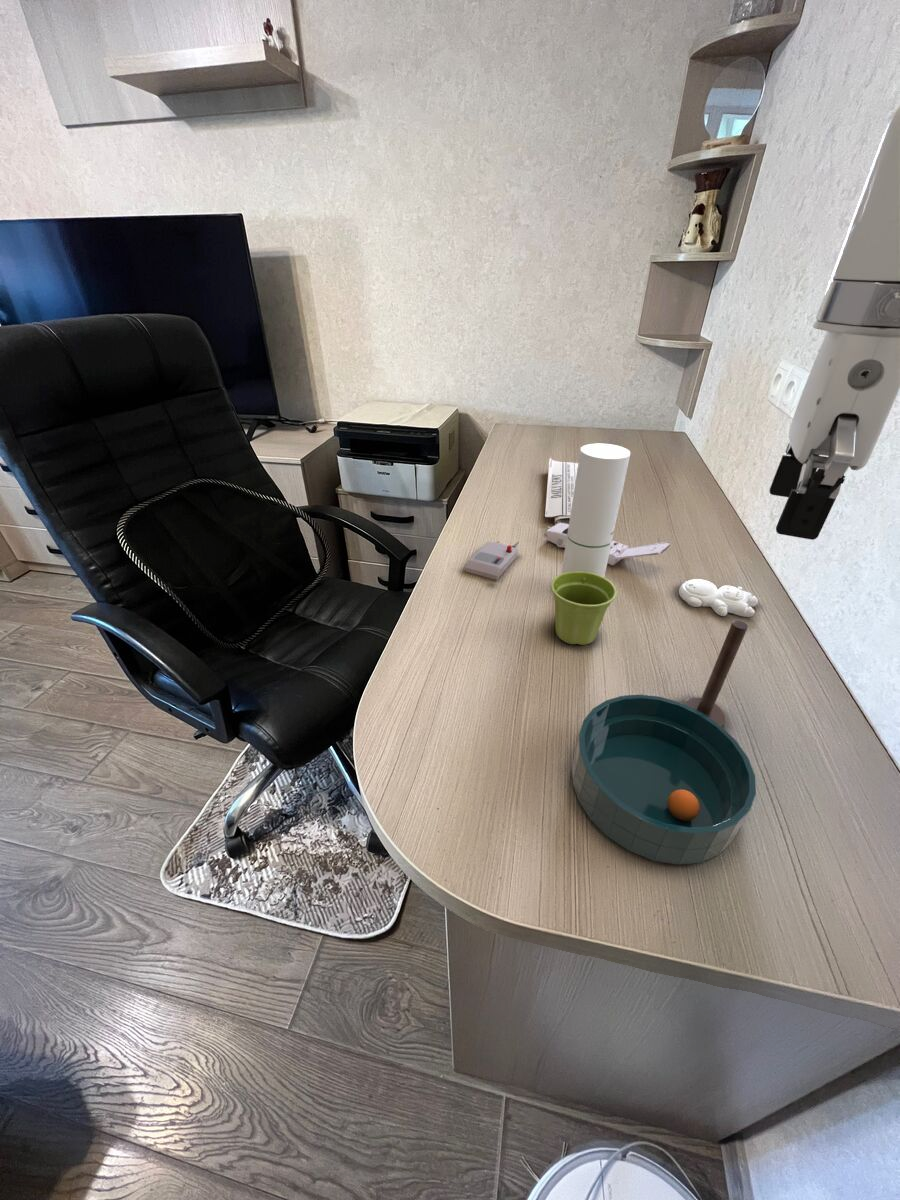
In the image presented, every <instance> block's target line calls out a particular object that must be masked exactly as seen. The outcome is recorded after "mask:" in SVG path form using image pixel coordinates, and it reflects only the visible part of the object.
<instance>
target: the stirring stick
mask: <svg viewBox="0 0 900 1200" xmlns="http://www.w3.org/2000/svg"><path fill="white" fill-rule="evenodd" d="M748 628H749V625H748V624H747V623H746V622H744V621H742V620H733V621H731V624H730V627H729V629H728V631H727V635H726V637H725V639H724V642H723V644H722V647H721V648H720V651H719V653H718V656H717V659H716V661H715V663H714V666H713V669H712V670H711V673H710V676H709V678H708V681H707V683H706V685H705V688H704V690H703V693H702V696H701V697H689V698H687V699H686V700H684V701H683V702H682V703H683V704H685V705H687V706H689V707H691V708H693V709H695V710H698V711H700V712H702V713H703V714H705V715H706V716H708V717H709V718H711V719H712V720H714V721H715V722H716V723H718V724H719V725H721V726H722V727H723V725H724V723H725V719H726V718H725V717H726V716H725V714H724V712H723V710H722V709H721V707H720V706H719V705H718V704H716V702H717V699H718V697H719V695H720V693H721V690H722V688H723V685H724V684H725V681H726V679H727V677H728V674H729V672H730V670H731V667H732V665H733V662H734V661H735V659H736V656H737V654H738V651H739V649H740V646H741V645H742V642H743V639H744V637H745V635H746V633H747V631H748Z"/></svg>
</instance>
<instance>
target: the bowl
mask: <svg viewBox="0 0 900 1200" xmlns="http://www.w3.org/2000/svg"><path fill="white" fill-rule="evenodd" d="M683 703H684V702H680V701H676V700H673V699H670V698H666V697H663V696H657V695H648V694H639V693H638V694H624V695H619V696H617V697H613V698H610V699H606V700H604V701H603V702H601V703H599V704H598V705H596V706H595V707H593V708H592V709H591V711H590V712H588V714H587V715H586V716H585V718H584V719H583V721H582V724H581V726H580V730H579V733H578V736H577V737H578V738H577V741H576V746H575V752H574V755H573V759H572V763H571V779H572V785H573V788H574V791H575V795H576V797H577V800H578V803H579V804H580V806H581V807H582V809H583V811H584V813H585V814H586V815H587V816H588V818H589V820H590V821H591V822H592V823H593V824H594V825H595V826H596V827H597V828H598V830H600V831H601V832H602V833H603V834H604V835H605V836H606V837H608V838H609V839H610V840H612V841H613V842H615V843H616V844H618V845H619V846H621V847H622V848H624V849H626V850H627V851H629V852H631V853H634V854H636V855H639V856H640V857H643V858H646V859H648V860H651V861H654V862H661V863H666V864H672V865H690V864H699V863H704V862H705V861H707V860H710V859H712V858H715V857H716V856H719V855H720V854H721V853H722V852H723V851H725V849H726V848H727V847H728V846H729V845H730V844H731V843H732V842H733V840H734V838H735V837H736V836H737V833H738V832H739V830H740V829H741V826H742V825H743V823H744V822H745V820H746V818H747V817H748V815H749V813H750V812H751V809H752V806H753V804H754V801H755V799H756V796H757V786H756V785H757V784H756V774H755V772H754V769H753V766H752V764H751V762H750V758H749V757H748V755H747V753H746V752H745V751H744V750H743V748H742V747H741V745H740V744H739V742H738V740H736V739H735V738H734V737H733V736H732V735H731V734H730V733H729V732H728V731H727V730H726V729H725V728H724V727H723V725H722V726H721V725H719V724H718V723H716V722H715V721H714V720H712V719H711V718H709V717H708V716H706V715H705V714H703V713H702V712H700V711H698V710H695V709H693V708H691V707H689V706H687V705H685V704H683ZM680 789H682V790H687V791H689V792H691V793H692V794H693V795H694V796H695V797H696V798H697V800H698V802H699V806H700V809H699V813H698V815H697V816H696V817H695V818H694V819H692V820H689V821H683V820H680V819H678V818H676V817H675V816H673V815H672V813H671V812H670V810H669V808H668V798H669V796H670V794H671V793H672V792H674V791H676V790H680Z"/></svg>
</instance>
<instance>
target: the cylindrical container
mask: <svg viewBox="0 0 900 1200" xmlns="http://www.w3.org/2000/svg"><path fill="white" fill-rule="evenodd" d="M630 457H631V451H630V450H629V449H628V448H626V447H623V446H620V445H617V444H611V443H602V442H601V443H600V442H599V443H598V442H597V443H589V444H584V445H582V446H581V447H580V451H579V457H578V462H577V463H578V469H577V476H576V482H575V488H574V495H573V501H572V508H571V514H570V521H569V527H568V534H567V540H566V547H565V548H564V554H563V560H562V567H561V572H560V574H562V573H566V572H572V571H583V572H590V573H594V574H596V575H600V576H602V577H604V578H605V577H606V576H605V575H606V572H607V566H608V564H607V562H608V557H609V553H610V548H611V543H612V540H613V538H614V533H615V528H616V524H617V519H618V515H619V509H620V505H621V500H622V497H623V491H624V486H625V481H626V476H627V473H628V467H629V462H630Z"/></svg>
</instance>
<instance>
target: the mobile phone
mask: <svg viewBox="0 0 900 1200" xmlns="http://www.w3.org/2000/svg"><path fill="white" fill-rule="evenodd" d="M568 527H569V524H565V523H558V524H554V525H553V526H546V532H545V539H546V540H547V541H549V542H550V543H552V544H555V545H556V546H557V548H563V549H565V547H566V540H567V534H568ZM670 546H671V543H670V541H661V542H657V543H650V544H643V545H636V546H630V547H629V546H628V545H627V544H623V543H621V542H618V541H615V540H613V539H612V543H611V548H610V553H609V557H608V562H607V565H610V566H614V565H616V564H617V563H618V562H619V561H621V560H623V559H631V558H640V557H646V556H647V557H649V556H657V555H662V554H663V553H664V552H665V551H667V549H668V548H669V547H670Z"/></svg>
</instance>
